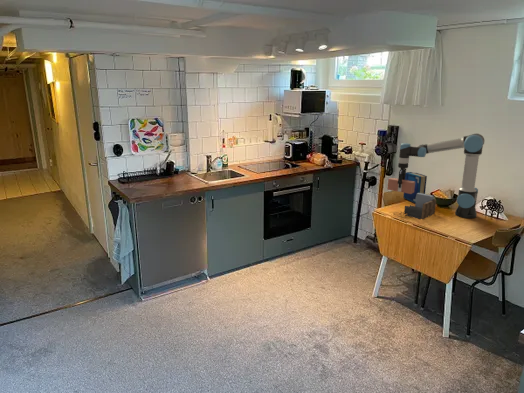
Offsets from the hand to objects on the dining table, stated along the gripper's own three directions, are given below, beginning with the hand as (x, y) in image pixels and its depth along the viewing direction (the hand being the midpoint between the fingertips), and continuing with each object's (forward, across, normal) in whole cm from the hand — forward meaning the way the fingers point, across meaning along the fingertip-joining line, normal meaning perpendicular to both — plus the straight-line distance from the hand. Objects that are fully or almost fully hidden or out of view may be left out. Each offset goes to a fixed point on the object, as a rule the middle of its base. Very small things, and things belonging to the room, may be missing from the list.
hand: (400, 190), depth 322 cm
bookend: (+16, +12, +14) cm, 24 cm away
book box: (0, 0, 0) cm, 0 cm away
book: (+16, -30, +4) cm, 35 cm away
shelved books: (+16, -2, +19) cm, 25 cm away
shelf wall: (+16, +7, +24) cm, 30 cm away
